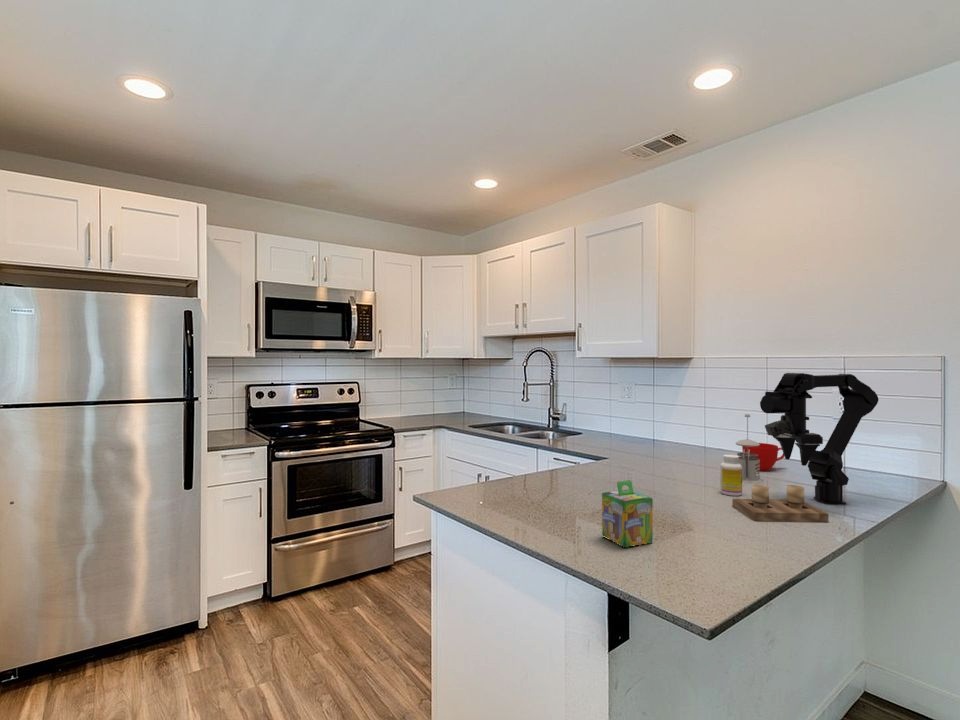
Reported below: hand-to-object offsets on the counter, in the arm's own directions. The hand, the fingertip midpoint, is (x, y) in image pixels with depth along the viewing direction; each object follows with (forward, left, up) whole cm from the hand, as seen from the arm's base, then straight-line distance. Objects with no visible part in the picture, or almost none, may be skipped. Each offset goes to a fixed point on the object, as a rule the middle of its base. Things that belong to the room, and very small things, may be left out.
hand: (795, 462), depth 157 cm
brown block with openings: (+11, +11, -13) cm, 20 cm away
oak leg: (+6, +11, -13) cm, 18 cm away
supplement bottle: (+15, -11, -13) cm, 23 cm away
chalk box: (+60, +35, -13) cm, 71 cm away
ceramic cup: (-15, -50, -13) cm, 54 cm away
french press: (+1, -30, -13) cm, 33 cm away
